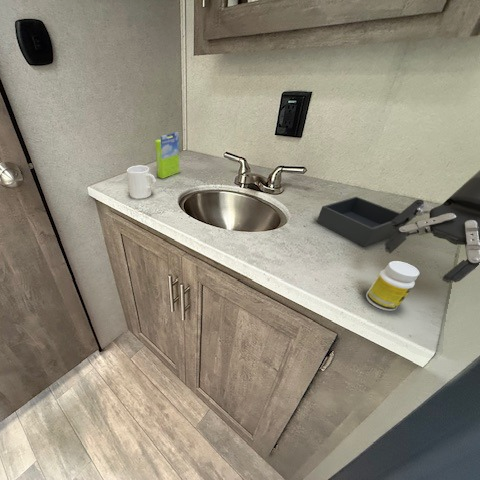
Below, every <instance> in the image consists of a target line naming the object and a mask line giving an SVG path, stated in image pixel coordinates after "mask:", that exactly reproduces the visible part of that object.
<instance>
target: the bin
mask: <svg viewBox="0 0 480 480" xmlns="http://www.w3.org/2000/svg"><path fill="white" fill-rule="evenodd" d="M400 213H401V212H398V211H396V210H393V209H390V208H388V207H385V206H383V205H380V204H377V203H375V202H372V201H370V200H366V199H364V198H362V197H359V196H353V197H349V198H346V199H343V200H340V201H336V202H333V203H328V204H326V205H322V207H321V209H320V212H319V214H318V217H317V220H316V223H318V224H319V225H321V226H323V227H324V228H327V229H329V230H331V231H333V232H335V233H336V234H338V235H340V236H342V237H344V238H346V239H348V240H350V241H351V242H353V243H355V244H357V245H359V246H361V247H363V248H364V247H367V246H369V245H372V244H375V243H377V242H380V241H383V240H385V239H389V238H391V237H392V236H393V235H394V234H395V233H396V232H397V231H396V230H394V229H393V227H392V224H391V221H392V220H393V219H394V218H395V217H397V216H398V215H399V214H400Z"/></svg>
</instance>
